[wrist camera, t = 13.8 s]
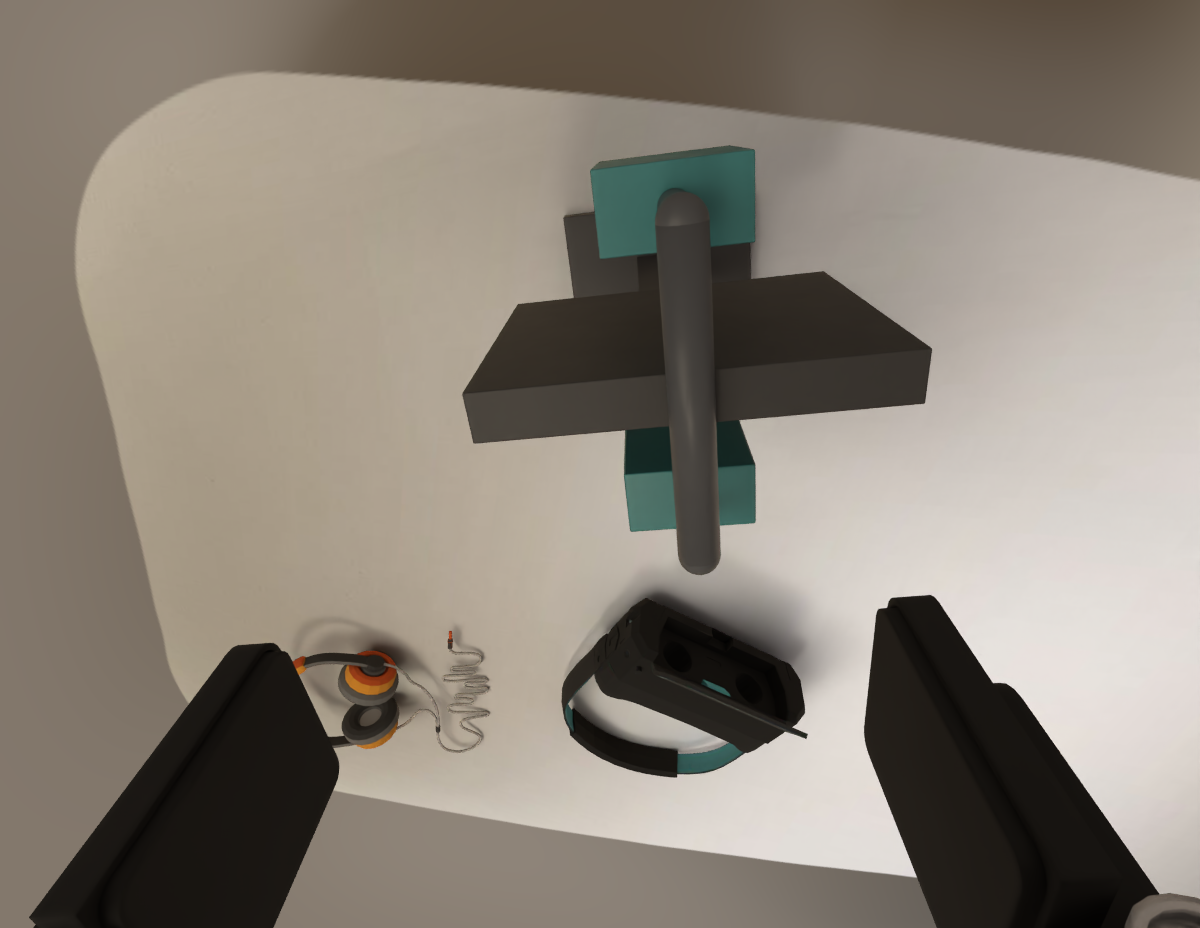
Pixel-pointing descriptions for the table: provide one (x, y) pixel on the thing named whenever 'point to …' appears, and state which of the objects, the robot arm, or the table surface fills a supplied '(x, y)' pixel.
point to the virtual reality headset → (685, 690)
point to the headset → (683, 338)
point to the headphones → (382, 696)
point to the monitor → (636, 353)
